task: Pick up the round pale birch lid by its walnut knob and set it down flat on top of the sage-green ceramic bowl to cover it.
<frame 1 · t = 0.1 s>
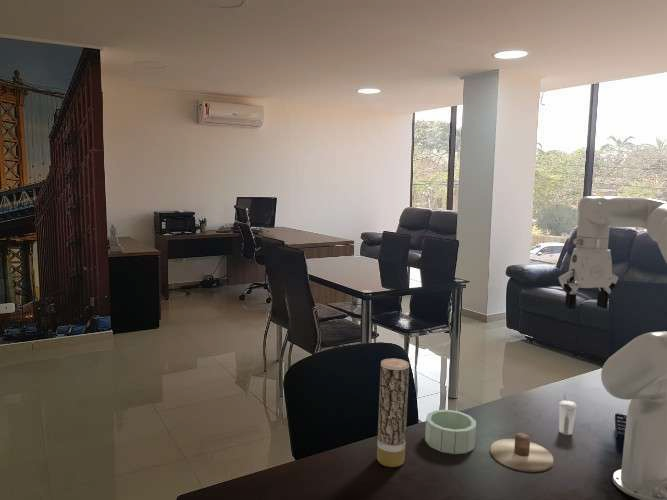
hand: (586, 307, 139), 37 cm above the table, tool pointing down, fingers open, 9 cm apart
bowl: (449, 441, 140), on the table
lid: (521, 457, 134), on the table
milkshake: (564, 432, 148), on the table
log-textured cylinder: (390, 461, 129), on the table
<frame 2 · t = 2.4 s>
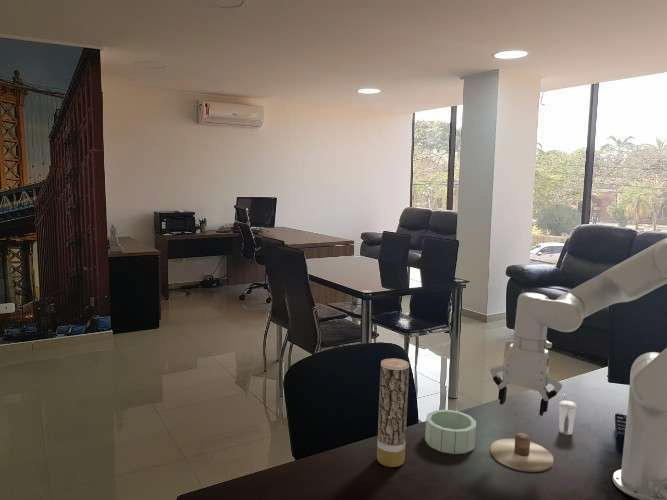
hand: (521, 408, 133), 12 cm above the table, tool pointing down, fingers open, 9 cm apart
nothing on the table moved.
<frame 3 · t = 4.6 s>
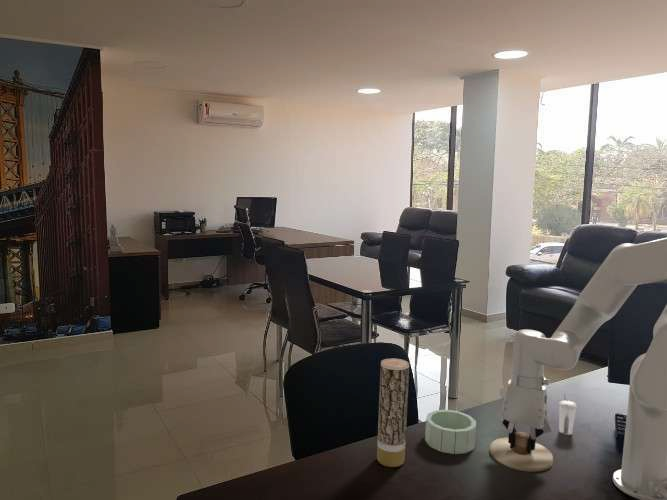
hand: (521, 448, 134), 2 cm above the table, tool pointing down, fingers closed on lid, 3 cm apart
lid: (520, 455, 134), on the table, touching gripper
everything else where it was.
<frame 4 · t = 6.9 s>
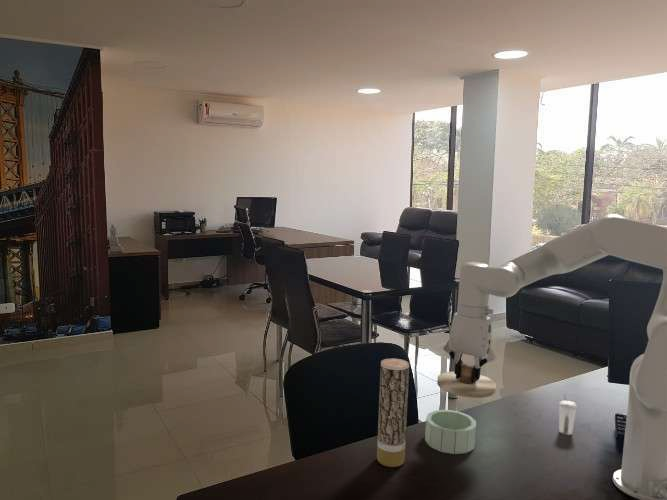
hand: (466, 378, 137), 18 cm above the table, tool pointing down, fingers closed on lid, 3 cm apart
lid: (466, 385, 137), point 16 cm above the table, touching gripper
everything else where it was.
when the fingers open (9 cm above the table, at t = 9.4 s): lid drops 1 cm, resting on bowl.
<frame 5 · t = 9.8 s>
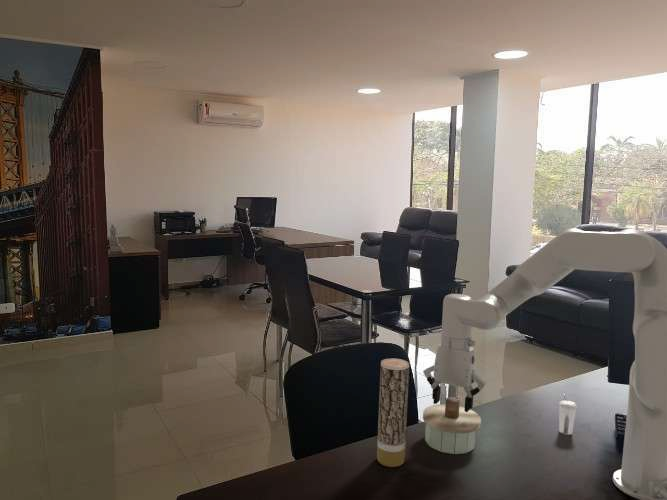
hand: (451, 405, 139), 10 cm above the table, tool pointing down, fingers open, 8 cm apart
lid: (451, 420, 139), point 6 cm above the table, touching bowl
everything else where it was.
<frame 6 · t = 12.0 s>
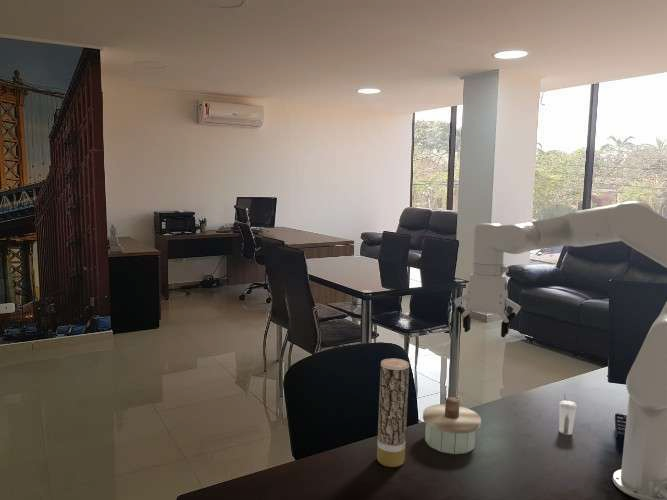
hand: (485, 333, 140), 29 cm above the table, tool pointing down, fingers open, 9 cm apart
nothing on the table moved.
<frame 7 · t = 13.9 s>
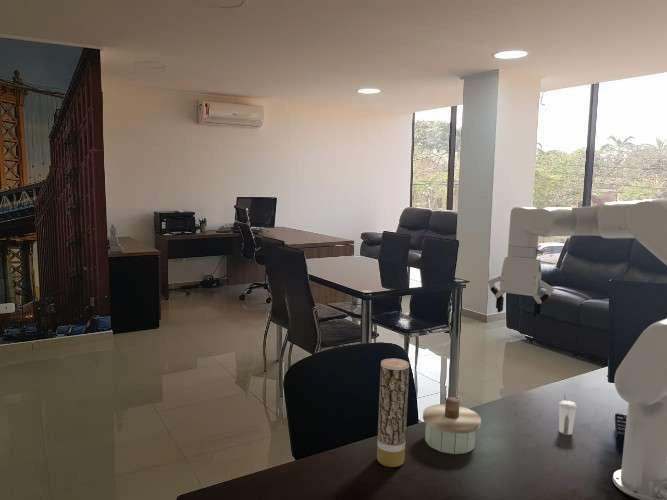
hand: (517, 314, 144), 33 cm above the table, tool pointing down, fingers open, 9 cm apart
nothing on the table moved.
at the end: lid 0.1 cm off-centre on the bowl, point 6.0 cm above the bowl's base; lid tilted 0°; the gripper is holding nothing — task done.
